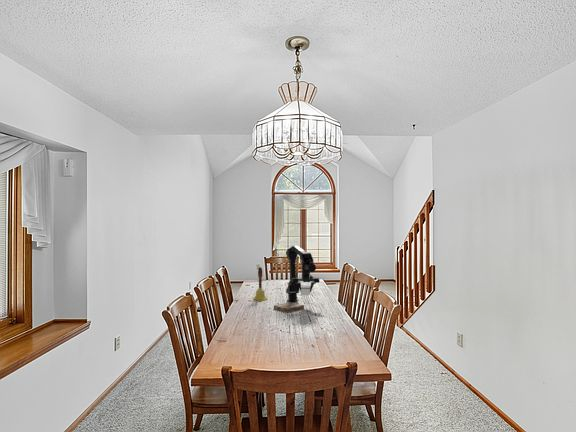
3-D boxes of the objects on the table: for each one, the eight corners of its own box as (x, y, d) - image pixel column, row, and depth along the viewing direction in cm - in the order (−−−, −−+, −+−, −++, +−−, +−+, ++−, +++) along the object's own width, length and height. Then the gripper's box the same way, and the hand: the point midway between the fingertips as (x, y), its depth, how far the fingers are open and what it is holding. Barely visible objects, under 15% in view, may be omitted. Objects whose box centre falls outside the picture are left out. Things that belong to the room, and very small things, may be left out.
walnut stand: (273, 308, 274) (273, 305, 274) (290, 305, 285) (290, 302, 285) (287, 312, 264) (287, 308, 264) (304, 308, 274) (304, 305, 274)
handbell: (253, 301, 299) (253, 268, 299) (251, 298, 311) (251, 266, 311) (269, 300, 302) (269, 268, 302) (266, 297, 314) (266, 266, 314)
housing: (302, 292, 283) (302, 285, 283) (310, 292, 282) (310, 285, 282) (301, 295, 273) (301, 287, 273) (309, 295, 272) (309, 288, 272)
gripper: (293, 271, 269) (293, 294, 269) (320, 271, 270) (320, 294, 270) (292, 269, 280) (292, 291, 280) (318, 269, 281) (318, 291, 281)
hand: (305, 292), depth 278 cm, fingers closed on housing, 6 cm apart
